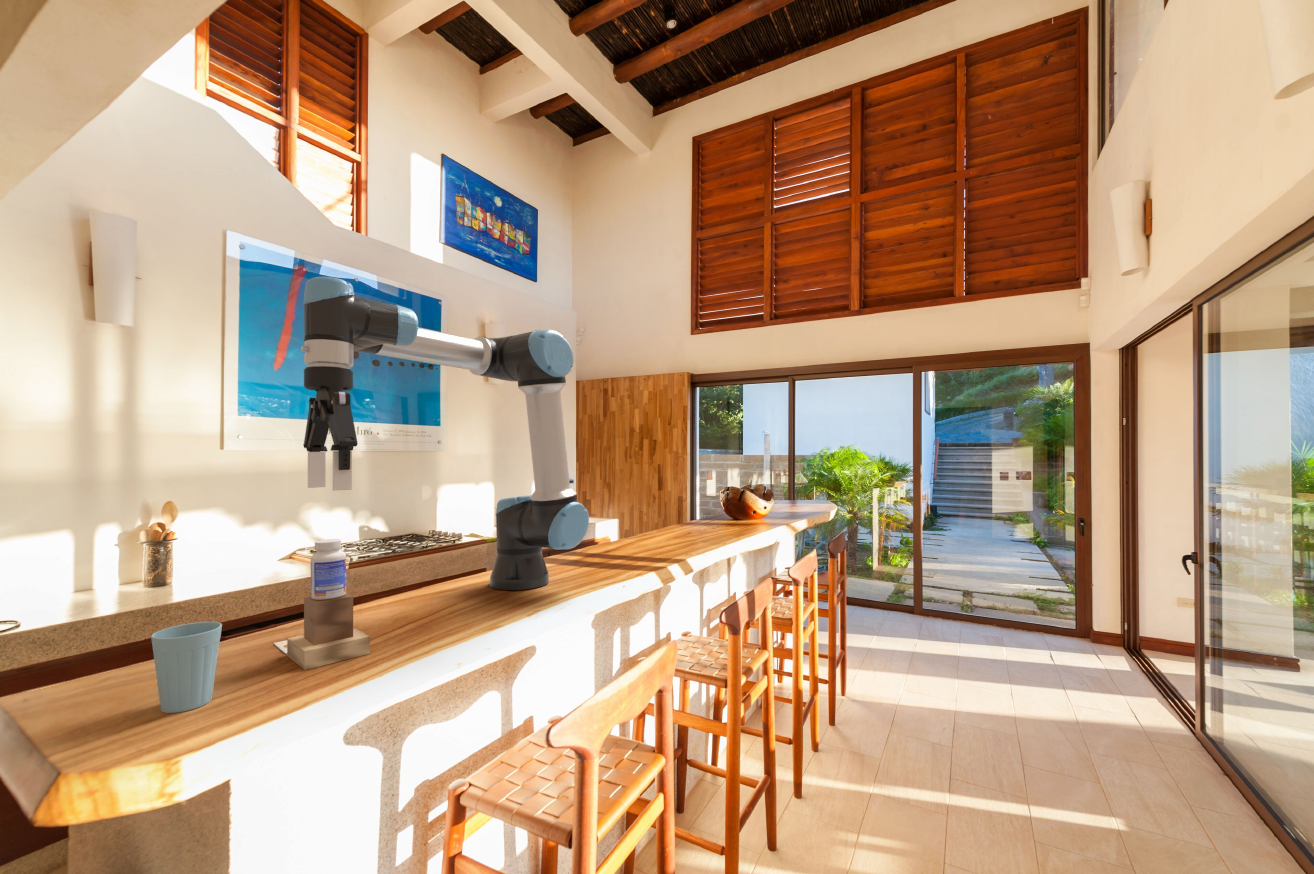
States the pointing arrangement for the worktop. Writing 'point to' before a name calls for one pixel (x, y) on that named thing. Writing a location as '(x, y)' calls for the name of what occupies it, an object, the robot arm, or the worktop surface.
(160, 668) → the cup
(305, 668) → the oak base slab
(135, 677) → the worktop surface
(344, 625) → the walnut block
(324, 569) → the pill bottle
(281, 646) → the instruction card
